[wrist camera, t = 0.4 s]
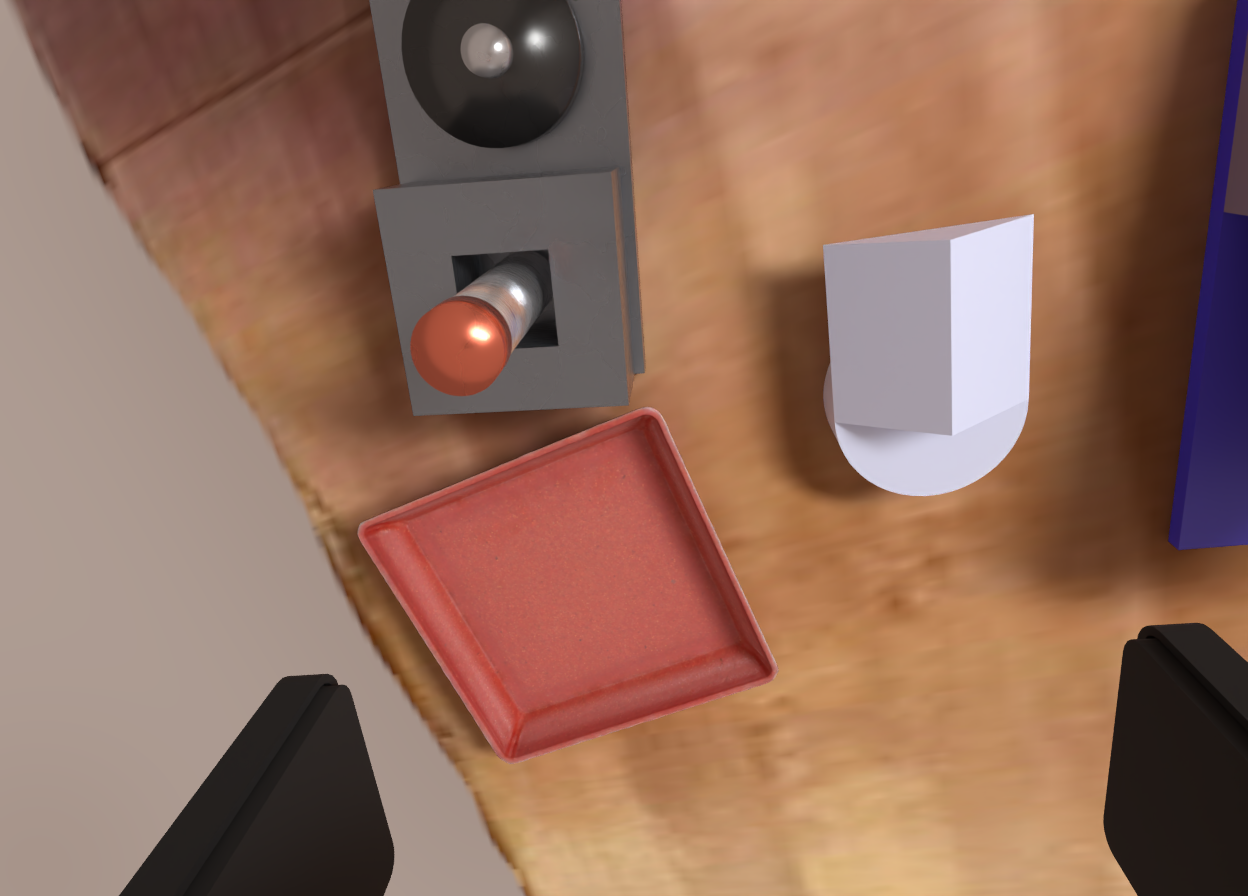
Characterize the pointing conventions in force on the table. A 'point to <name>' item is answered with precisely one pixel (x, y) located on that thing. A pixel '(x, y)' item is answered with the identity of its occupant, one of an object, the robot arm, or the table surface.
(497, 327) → the pin
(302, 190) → the table surface
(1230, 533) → the stapler
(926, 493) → the wedge on round base
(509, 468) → the plant saucer
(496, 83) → the block
